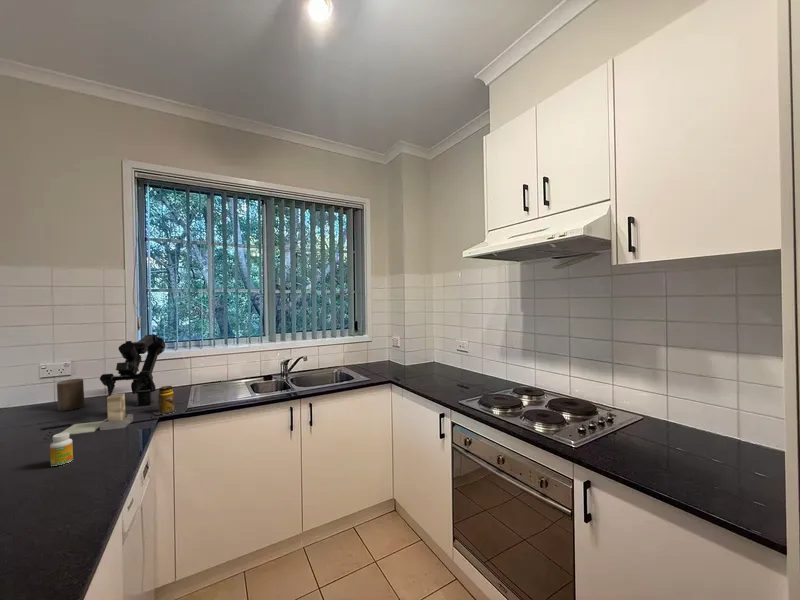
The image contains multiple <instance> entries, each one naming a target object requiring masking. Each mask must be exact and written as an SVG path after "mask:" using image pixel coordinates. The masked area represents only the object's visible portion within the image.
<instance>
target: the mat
mask: <svg viewBox="0 0 800 600" xmlns="http://www.w3.org/2000/svg"><path fill="white" fill-rule="evenodd" d="M102 421H103V420H102ZM102 421H101V420H100V421H91V422H85V423H84V422H83V423H74V424H73V425H71V426H70V427H68V428H66V429H64V430H63V431H61V432H60V433H64V432H68V433H69V436H70V435H79V434H86V433H94V432H95V431H97V430H98V429H100V423H101V422H102Z"/></svg>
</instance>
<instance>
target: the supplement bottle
mask: <svg viewBox="0 0 800 600" xmlns="http://www.w3.org/2000/svg"><path fill="white" fill-rule="evenodd" d="M52 441H53V442H51V443H49V444H50V445H49V456H50V457H49V458H50V459H49V460H50V466H51V467H52V466H57V465H62V464H65V463H69V462H71V461H72V460H73V461H74V451H73V450H74V449H73V446H74V445H73V439H72V438H70V435H69V433H68V432H64V433H61V432H59V433H56V434H54V435H53V436H52ZM73 461H72V462H73ZM72 462H71V463H72ZM69 464H70V463H69Z"/></svg>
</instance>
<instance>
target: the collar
mask: <svg viewBox="0 0 800 600" xmlns="http://www.w3.org/2000/svg"><path fill="white" fill-rule="evenodd" d="M125 416H126V418H125V419H123V420H119V421H110V422H108V417H107V418H105V419H104V420H102V422H101V423H100V428H99V431H108V430H115V429H116V430H117V429H125V428H127V427H128V425H130V424H131V423H132V422H133V421H134V414H133V413H129V414H125Z"/></svg>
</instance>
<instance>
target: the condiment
mask: <svg viewBox="0 0 800 600" xmlns="http://www.w3.org/2000/svg"><path fill="white" fill-rule="evenodd" d="M173 388H174V387H173V385H164V386H161V387H159V388H158V390H159V391H158V411H159V412H160V413H165V412H170V411H173V410H174V409H175V397H174V396H175V395H174V394H175V393H174V391H173V390H174V389H173Z"/></svg>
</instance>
